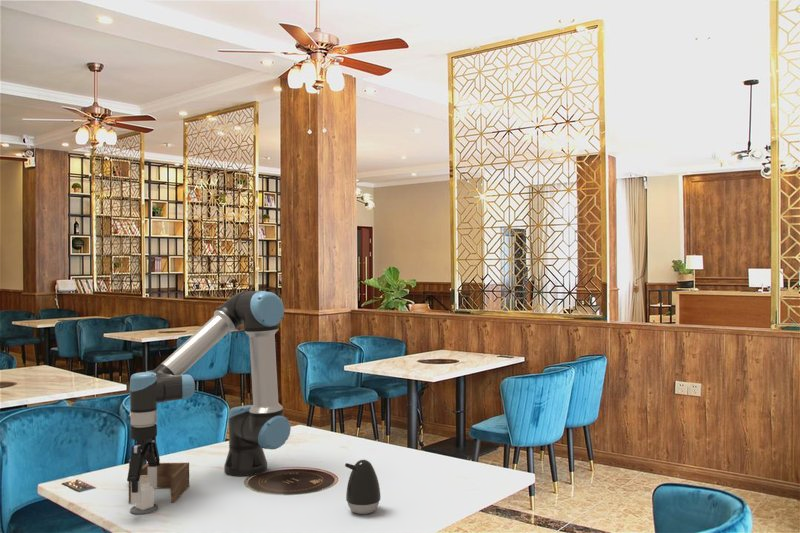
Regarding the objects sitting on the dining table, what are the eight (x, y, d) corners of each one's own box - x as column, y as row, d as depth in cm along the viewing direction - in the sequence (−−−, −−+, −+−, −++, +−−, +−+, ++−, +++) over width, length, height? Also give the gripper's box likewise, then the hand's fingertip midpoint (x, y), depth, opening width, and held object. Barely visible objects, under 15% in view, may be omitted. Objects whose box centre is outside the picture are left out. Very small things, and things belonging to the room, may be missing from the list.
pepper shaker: (143, 511, 202) (143, 479, 202) (134, 508, 204) (134, 477, 205) (154, 507, 206) (154, 475, 206) (145, 504, 208) (145, 473, 208)
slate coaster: (162, 505, 209) (162, 503, 209) (153, 514, 201) (153, 512, 201) (136, 505, 209) (136, 503, 209) (125, 514, 201) (125, 512, 201)
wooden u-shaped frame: (189, 486, 227) (189, 462, 227) (174, 502, 211) (173, 477, 211) (147, 487, 227) (147, 463, 227) (128, 503, 211) (128, 477, 211)
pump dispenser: (345, 506, 207) (344, 455, 207) (379, 504, 207) (379, 454, 208) (345, 518, 196) (345, 465, 196) (381, 516, 197) (381, 464, 197)
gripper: (146, 415, 218) (146, 482, 218) (114, 434, 193) (115, 509, 193) (169, 415, 218) (170, 481, 218) (141, 434, 193) (141, 509, 193)
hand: (144, 495), depth 205 cm, fingers open, 13 cm apart
